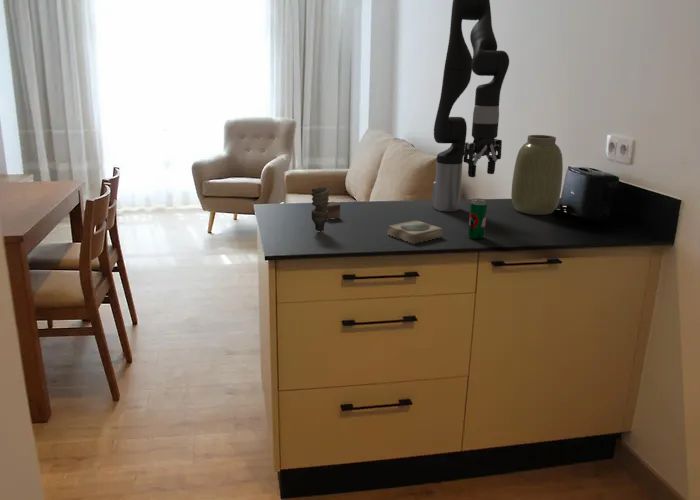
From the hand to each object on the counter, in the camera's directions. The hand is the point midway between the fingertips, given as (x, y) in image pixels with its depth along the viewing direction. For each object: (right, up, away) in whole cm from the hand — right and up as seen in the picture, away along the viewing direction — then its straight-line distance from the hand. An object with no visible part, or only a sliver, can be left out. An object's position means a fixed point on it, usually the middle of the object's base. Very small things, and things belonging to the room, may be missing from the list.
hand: (481, 175), depth 190 cm
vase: (+28, -8, +40) cm, 49 cm away
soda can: (0, -19, +6) cm, 20 cm away
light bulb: (-49, -17, +9) cm, 53 cm away
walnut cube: (-47, -7, +25) cm, 53 cm away
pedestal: (-20, -18, +6) cm, 28 cm away
